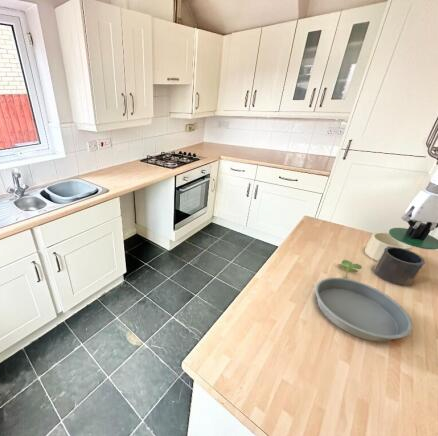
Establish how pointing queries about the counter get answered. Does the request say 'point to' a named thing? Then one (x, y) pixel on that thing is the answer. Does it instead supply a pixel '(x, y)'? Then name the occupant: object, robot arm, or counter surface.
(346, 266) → the seedling
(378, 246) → the tin
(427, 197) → the robot arm
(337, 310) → the cake pan
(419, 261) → the cup
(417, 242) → the lid
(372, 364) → the counter surface
